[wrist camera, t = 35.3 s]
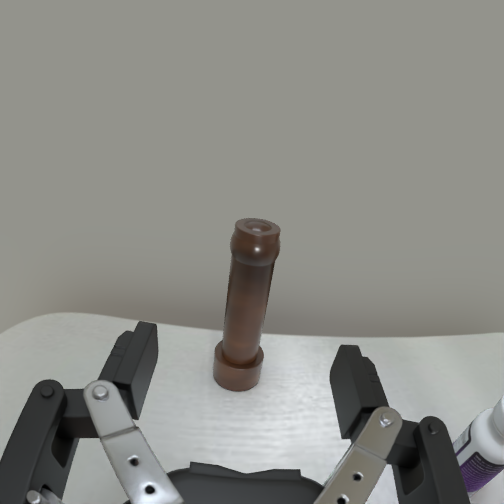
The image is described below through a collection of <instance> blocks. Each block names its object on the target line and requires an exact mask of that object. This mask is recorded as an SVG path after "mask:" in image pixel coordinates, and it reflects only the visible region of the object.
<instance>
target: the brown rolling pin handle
mask: <svg viewBox="0 0 504 504" xmlns="http://www.w3.org/2000/svg"><path fill="white" fill-rule="evenodd" d="M279 236H280V228H279V226H277V225H276V224H274V223H272V222H270V221H267V220H263V219H255V218H246V219H241V220H238V221H237V222H236V224H235V231H234V233H233V235H232V237H231V242H230V249H231V253H232V257H231V266H230V275H229V284H228V293H227V303H226V313H225V322H224V332H223V340H222V341H220V342H219V343H218V344H217V346H216V348H215V354H214V367H213V376H214V378H215V380H216V382H217V383H218V384H219V385H220V386H222V387H223V388H225V389H228V390H231V391H245V390H248V389H251V388H252V387H254V386H255V385H256V384H257V382H258V380H259V377H260V372H261V368H262V363H263V358H264V353H263V350H262V348H261V347H260V346H259V344H260V339H261V334H262V328H263V323H264V318H265V312H266V307H267V302H268V297H269V291H270V285H271V280H272V275H273V268H274V263H275V260H276V258H277V257H278V255H279V251H280V240H279Z"/></svg>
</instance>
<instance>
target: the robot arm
mask: <svg viewBox="0 0 504 504" xmlns="http://www.w3.org/2000/svg"><path fill="white" fill-rule="evenodd" d="M157 359H158V337H157V325H156V324H154V323H148V322H142V321H139V322H138V324H137V326H136V328H135V330H134V332H132V331H125V332H124V333H123V334H122V335H120V336H119V337H118V339H117V341H116V343H115V345H114V347H113V349H112V351H111V354H110V355H109V357H108V359H107V361H106V363H105V365H104V367H103V369H102V372H101V374H100V376H99V378H98V380H96V381H93V382H91V383H89V384H88V385H87V386H86V387H85V388H84V389H63V387H62V385H61V384H60V383H59V382H57V381H55V380H43V381H41V382H39V383H37V384H36V385H35V387H34V388H33V390H32V392H31V394H30V396H29V398H28V400H27V402H26V404H25V406H24V408H23V410H22V412H21V415H20V417H19V419H18V421H17V423H16V425H15V428H14V430H13V432H12V434H11V437H10V439H9V441H8V444H7V446H6V448H5V451H4V453H3V456H2V458H1V461H0V504H65V503H63V502H62V497H63V493H64V490H65V486H66V482H67V479H68V475H69V472H70V468H71V465H72V461H73V458H74V455H75V451H76V448H77V445H78V442H79V439H80V438H100V440H101V443H102V445H103V447H104V450H105V452H106V454H107V456H108V458H109V461H110V463H111V465H112V467H113V469H114V471H115V473H116V475H117V477H118V479H119V481H120V483H121V485H122V487H123V489H124V491H125V492H126V494H127V496H128V498H129V500H127V501H126V502H125V503H123V504H365V502H366V501H367V499H368V497H369V495H370V494H371V492H372V490H373V488H374V487H375V485H376V483H377V481H378V479H379V478H380V476H381V474H382V472H383V470H384V468H385V466H386V464H391V465H392V469H393V474H394V479H395V485H396V490H397V496H398V501H399V504H470V501H469V497H468V493H467V490H466V486H465V483H464V479H463V476H462V473H461V470H460V466H459V463H458V460H457V457H456V454H455V451H454V448H453V445H452V442H451V439H450V436H449V434H448V431H447V428H446V426H445V424H444V423H443V421H441V420H440V419H439V418H437V417H433V416H427V417H425V418H423V419H422V420H421V421H420V423H417V422H412V421H407V420H403V419H402V418H401V416H400V414H399V413H398V412H397V411H396V410H394V409H392V408H390V407H389V405H388V402H387V399H386V396H385V393H384V390H383V387H382V385H381V382H380V379H379V376H378V375H377V371H376V368H375V365H374V364H373V363H372V362H371V361H370V359H369V358H368V357H362V354H361V352H360V349H359V347H358V346H357V345H341V346H340V347H339V350H338V352H337V355H336V357H335V360H334V362H333V365H332V367H331V370H330V384H331V389H332V394H333V398H334V403H335V408H336V413H337V418H338V423H339V428H340V433H341V438H342V439H351V445H350V447H349V448H348V450H347V451H346V453H345V454H344V456H343V457H342V459H341V460H340V462H339V463H338V464H337V466H336V467H335V469H334V470H333V472H332V473H331V474H330V476H329V477H328V479H327V480H326V481H325V482H324V484H323V485H321V484H319V483H317V482H316V481H314V480H311V479H309V478H306V477H302V476H301V472H300V469H272V470H267V471H261V472H255V473H248V474H246V473H241V472H238V471H235V470H231V469H228V468H225V467H222V466H219V465H212V464H204V463H197V462H190V468H184V469H178V470H175V471H171V472H169V473H165V471H164V470H163V468H162V466H161V465H160V463H159V461H158V460H157V458H156V456H155V455H154V453H153V451H152V450H151V448H150V446H149V444H148V443H147V441H146V439H145V437H144V435H143V434H142V432H141V430H140V429H139V427H136V425H135V423H134V421H133V420H132V419H135V420H139V417H140V413H141V410H142V407H143V404H144V400H145V397H146V394H147V391H148V388H149V385H150V382H151V378H152V375H153V372H154V369H155V366H156V363H157Z"/></svg>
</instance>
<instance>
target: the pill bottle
mask: <svg viewBox="0 0 504 504" xmlns="http://www.w3.org/2000/svg"><path fill="white" fill-rule="evenodd" d="M452 445H453V448H454V451H455V454H456V457H457V460H458V463H459V466H460V470H461V473H462V476H463V479H464V483H465V486H466V490H467V493H468V497H470V496H472V495H473V494H474V493H475V492H477V491H478V490H479V489H481V488H482V487H483V486H484V485H485V484H487V483H488V482H489V481H490V480H491V479H493V478H494V477H495V476H496V475H497V474H498V473H500V472H501V471H502V470H503V469H504V396H503V397H502V398H501V399H500V401H499V402H498V403H497V405H496V406H495V407H494V408H490V409H487V410H484V411H483V412H481V413H480V414H479V415H478V416H477V417H476V418H475V419H474V420H473V421H472V423H471V424H470V425H469V426H468V427H467V428H466V430H465V431H464V432H463V433H462V434H461V435H460V436H459V437H458V439H457V440H456V441H455V442H454V443H453V444H452Z"/></svg>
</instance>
